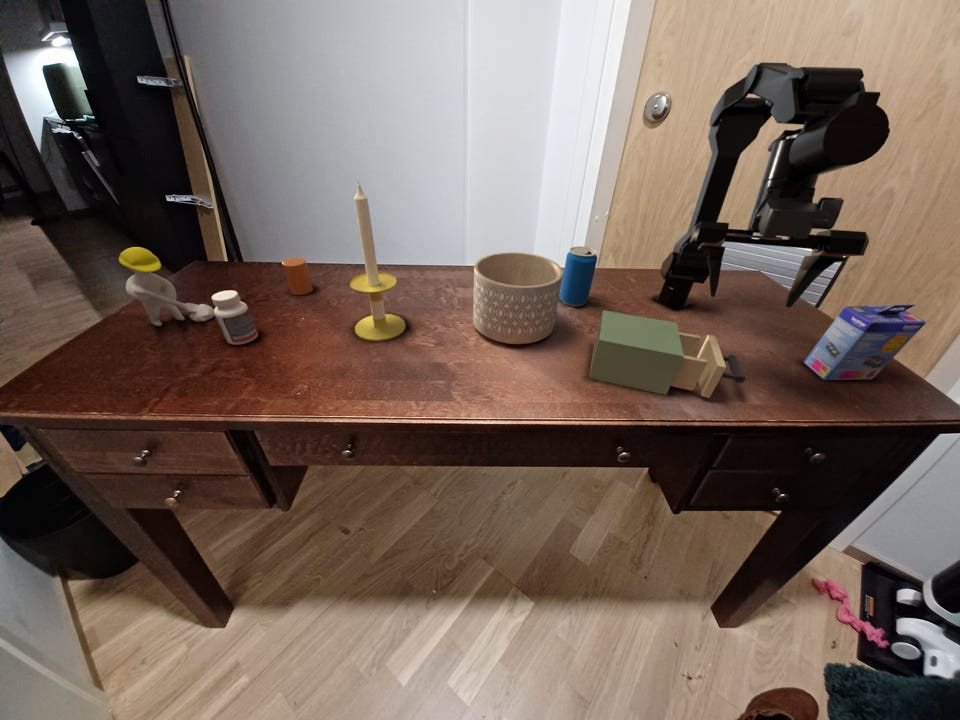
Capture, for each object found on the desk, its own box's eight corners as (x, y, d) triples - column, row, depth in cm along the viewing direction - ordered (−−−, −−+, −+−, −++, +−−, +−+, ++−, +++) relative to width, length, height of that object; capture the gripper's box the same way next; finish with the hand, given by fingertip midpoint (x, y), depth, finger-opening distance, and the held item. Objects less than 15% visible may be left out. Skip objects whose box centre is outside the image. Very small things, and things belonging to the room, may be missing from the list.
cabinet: (662, 359, 67) (677, 322, 63) (666, 395, 59) (683, 356, 55) (593, 346, 70) (603, 309, 66) (588, 378, 62) (599, 339, 58)
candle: (413, 333, 72) (399, 184, 56) (362, 346, 68) (331, 189, 52) (396, 311, 79) (379, 173, 63) (349, 321, 75) (318, 176, 59)
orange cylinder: (311, 284, 88) (303, 256, 84) (314, 292, 85) (307, 263, 81) (289, 288, 86) (280, 259, 82) (292, 296, 83) (283, 267, 79)
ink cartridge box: (825, 382, 63) (883, 308, 55) (800, 363, 68) (850, 292, 59) (876, 380, 64) (941, 307, 56) (848, 361, 69) (904, 291, 60)
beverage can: (587, 309, 82) (599, 257, 75) (558, 306, 83) (567, 254, 76) (586, 296, 87) (597, 247, 80) (559, 293, 88) (568, 244, 81)
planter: (487, 302, 83) (490, 247, 76) (559, 316, 79) (569, 259, 72) (460, 338, 71) (460, 277, 63) (543, 357, 67) (554, 294, 59)
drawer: (725, 370, 64) (741, 340, 60) (737, 404, 57) (756, 373, 53) (634, 351, 68) (643, 323, 64) (634, 381, 61) (645, 351, 57)
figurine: (180, 337, 68) (138, 260, 59) (140, 330, 70) (93, 254, 61) (222, 312, 76) (190, 240, 67) (185, 306, 78) (149, 235, 69)
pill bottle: (265, 333, 70) (249, 291, 65) (242, 348, 66) (223, 304, 61) (243, 328, 72) (226, 286, 66) (220, 342, 68) (199, 298, 62)
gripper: (713, 167, 44) (679, 295, 49) (923, 170, 37) (859, 321, 42) (704, 185, 54) (676, 290, 59) (869, 190, 47) (822, 310, 51)
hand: (748, 301), depth 52 cm, fingers open, 9 cm apart
